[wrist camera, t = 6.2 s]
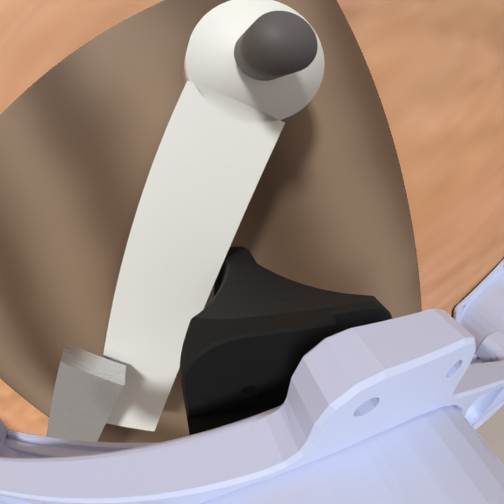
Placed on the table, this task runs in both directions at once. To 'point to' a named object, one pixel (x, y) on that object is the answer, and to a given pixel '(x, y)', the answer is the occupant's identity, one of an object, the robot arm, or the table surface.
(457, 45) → the table surface
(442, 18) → the table surface
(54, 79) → the pivot board
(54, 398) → the block
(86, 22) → the table surface
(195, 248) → the pivot bar
